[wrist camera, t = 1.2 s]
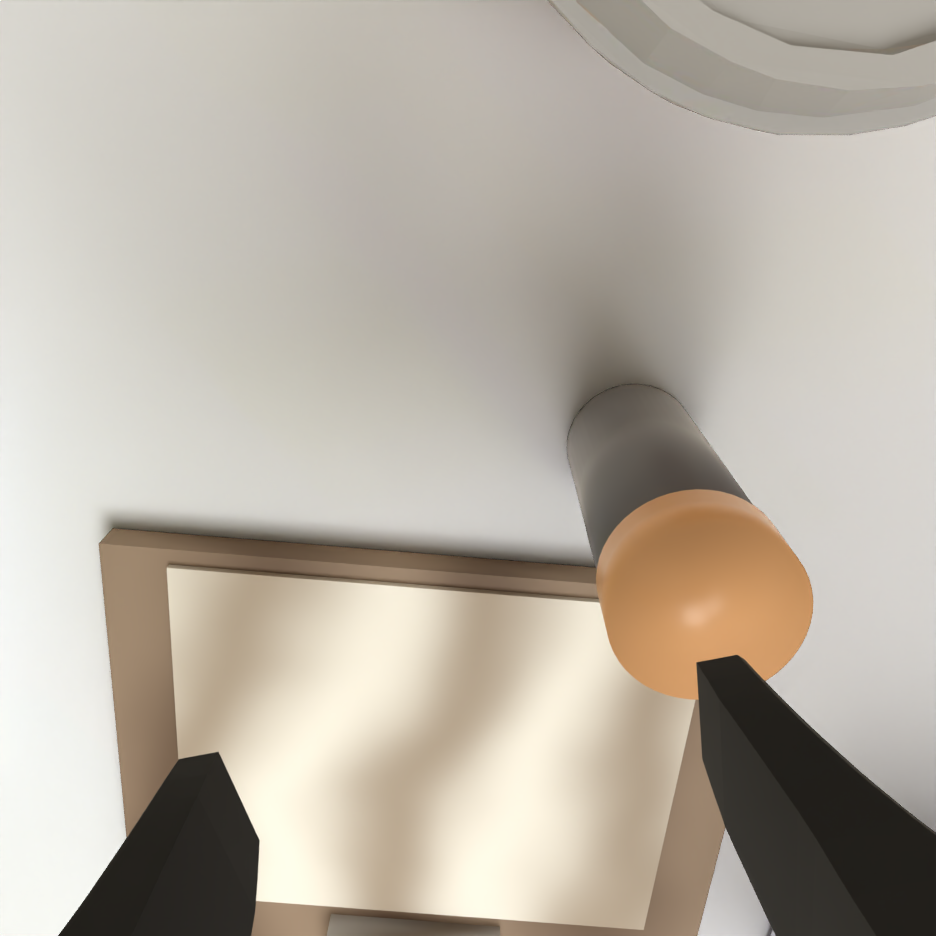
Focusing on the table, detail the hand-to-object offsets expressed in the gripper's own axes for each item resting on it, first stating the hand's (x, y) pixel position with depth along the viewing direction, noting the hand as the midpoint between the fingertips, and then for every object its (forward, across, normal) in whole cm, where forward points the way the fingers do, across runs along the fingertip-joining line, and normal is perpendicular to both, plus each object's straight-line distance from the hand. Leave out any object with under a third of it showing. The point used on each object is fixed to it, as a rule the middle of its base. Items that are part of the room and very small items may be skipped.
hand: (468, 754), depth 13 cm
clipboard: (+11, +3, +12) cm, 17 cm away
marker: (+12, -5, +2) cm, 13 cm away
